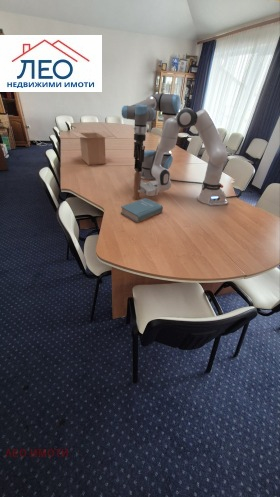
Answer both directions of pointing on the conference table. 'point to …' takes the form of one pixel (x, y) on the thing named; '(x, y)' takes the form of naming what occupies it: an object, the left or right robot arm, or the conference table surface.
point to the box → (92, 146)
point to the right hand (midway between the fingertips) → (135, 189)
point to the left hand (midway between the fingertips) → (137, 170)
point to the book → (141, 209)
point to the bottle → (137, 185)
